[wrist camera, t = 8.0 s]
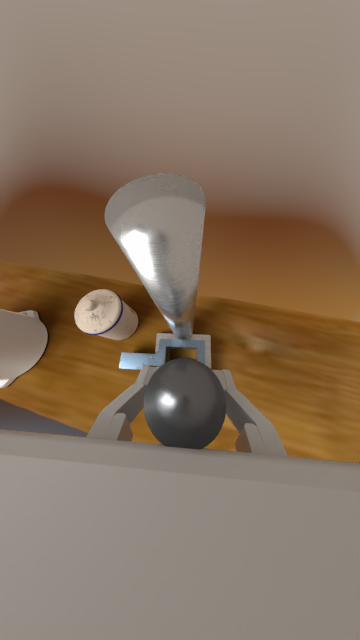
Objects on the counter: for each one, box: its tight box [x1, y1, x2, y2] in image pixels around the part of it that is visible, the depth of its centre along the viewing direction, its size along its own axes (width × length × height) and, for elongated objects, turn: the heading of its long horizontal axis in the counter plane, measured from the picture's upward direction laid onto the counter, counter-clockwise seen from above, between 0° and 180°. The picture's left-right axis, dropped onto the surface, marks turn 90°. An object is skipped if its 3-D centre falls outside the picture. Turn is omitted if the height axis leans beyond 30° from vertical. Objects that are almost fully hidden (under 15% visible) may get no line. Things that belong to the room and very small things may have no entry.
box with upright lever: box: [105, 173, 211, 369], centre depth 17 cm, size 18×15×26 cm
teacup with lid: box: [74, 289, 138, 340], centre depth 27 cm, size 12×9×12 cm
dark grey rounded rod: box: [144, 358, 226, 450], centre depth 10 cm, size 3×3×10 cm
